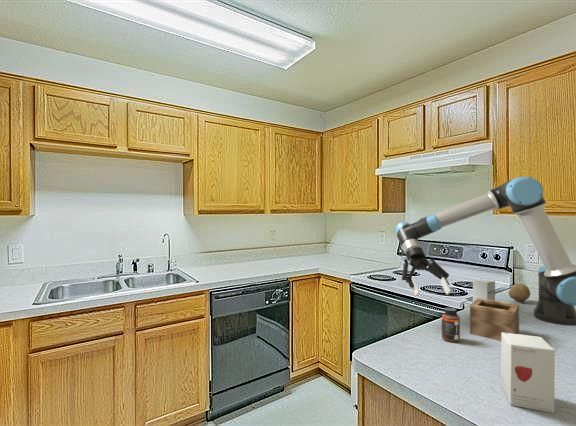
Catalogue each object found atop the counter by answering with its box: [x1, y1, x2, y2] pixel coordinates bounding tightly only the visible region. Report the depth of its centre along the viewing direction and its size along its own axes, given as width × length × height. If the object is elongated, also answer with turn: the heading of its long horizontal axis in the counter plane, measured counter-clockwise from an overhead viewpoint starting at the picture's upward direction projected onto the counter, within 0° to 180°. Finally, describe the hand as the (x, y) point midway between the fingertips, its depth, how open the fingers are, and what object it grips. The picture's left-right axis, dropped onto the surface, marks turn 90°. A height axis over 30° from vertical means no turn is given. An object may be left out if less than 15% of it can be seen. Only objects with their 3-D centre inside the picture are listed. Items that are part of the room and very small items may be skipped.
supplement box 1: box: [472, 278, 496, 303], centre depth 163 cm, size 7×7×13 cm
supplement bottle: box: [441, 307, 461, 343], centre depth 119 cm, size 6×6×11 cm
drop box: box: [469, 298, 520, 342], centre depth 125 cm, size 14×14×11 cm
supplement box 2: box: [500, 332, 556, 414], centre depth 80 cm, size 9×9×15 cm
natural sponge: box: [508, 282, 531, 303], centre depth 168 cm, size 9×9×10 cm
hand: (433, 293), depth 129 cm, fingers open, 13 cm apart
